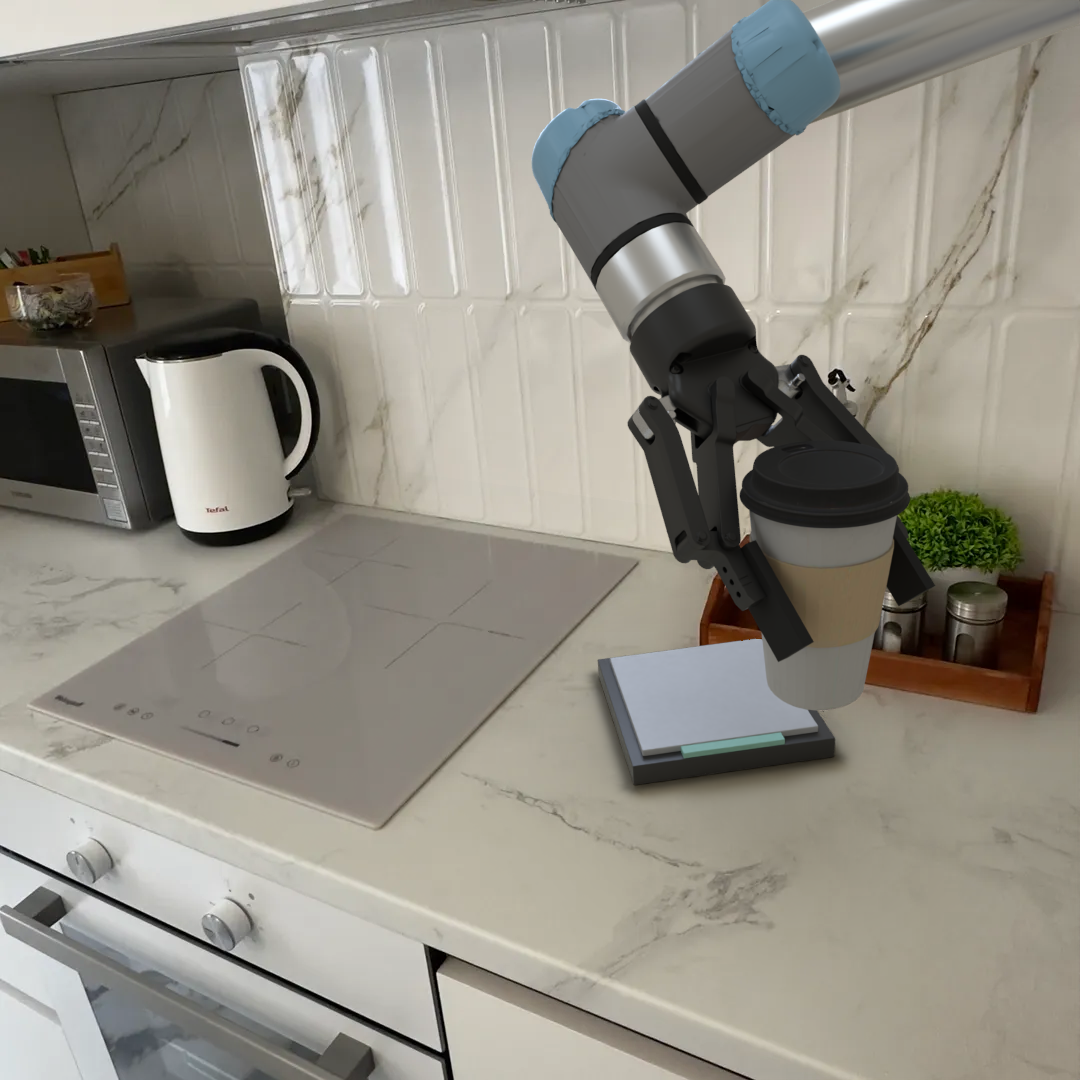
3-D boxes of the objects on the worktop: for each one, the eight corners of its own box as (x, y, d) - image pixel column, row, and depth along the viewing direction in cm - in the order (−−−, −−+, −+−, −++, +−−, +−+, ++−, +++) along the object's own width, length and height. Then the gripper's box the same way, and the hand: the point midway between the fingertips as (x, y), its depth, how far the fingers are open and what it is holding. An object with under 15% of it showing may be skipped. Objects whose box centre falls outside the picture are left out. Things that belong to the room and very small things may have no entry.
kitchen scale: (767, 653, 91) (768, 631, 90) (834, 756, 76) (835, 731, 75) (598, 675, 90) (597, 653, 89) (633, 785, 75) (632, 760, 74)
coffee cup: (790, 632, 68) (796, 426, 62) (921, 678, 61) (942, 453, 55) (709, 692, 62) (706, 471, 56) (845, 749, 56) (859, 507, 49)
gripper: (773, 320, 71) (940, 589, 65) (513, 384, 61) (683, 709, 55) (832, 250, 65) (1023, 542, 59) (552, 309, 55) (749, 668, 49)
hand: (858, 623), depth 57 cm, fingers closed on coffee cup, 9 cm apart
